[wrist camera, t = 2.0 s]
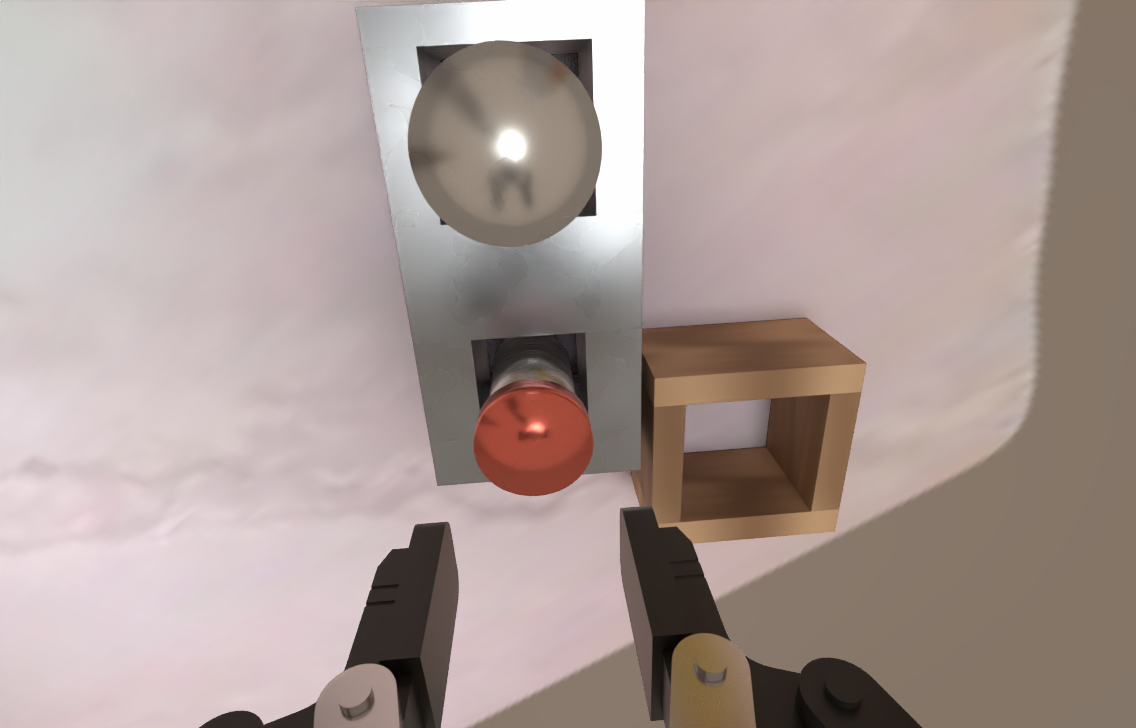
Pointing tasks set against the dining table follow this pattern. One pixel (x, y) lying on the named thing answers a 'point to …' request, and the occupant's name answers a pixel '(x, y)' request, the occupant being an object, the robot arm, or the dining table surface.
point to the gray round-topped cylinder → (505, 143)
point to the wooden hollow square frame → (755, 475)
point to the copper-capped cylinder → (532, 420)
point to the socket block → (525, 273)
